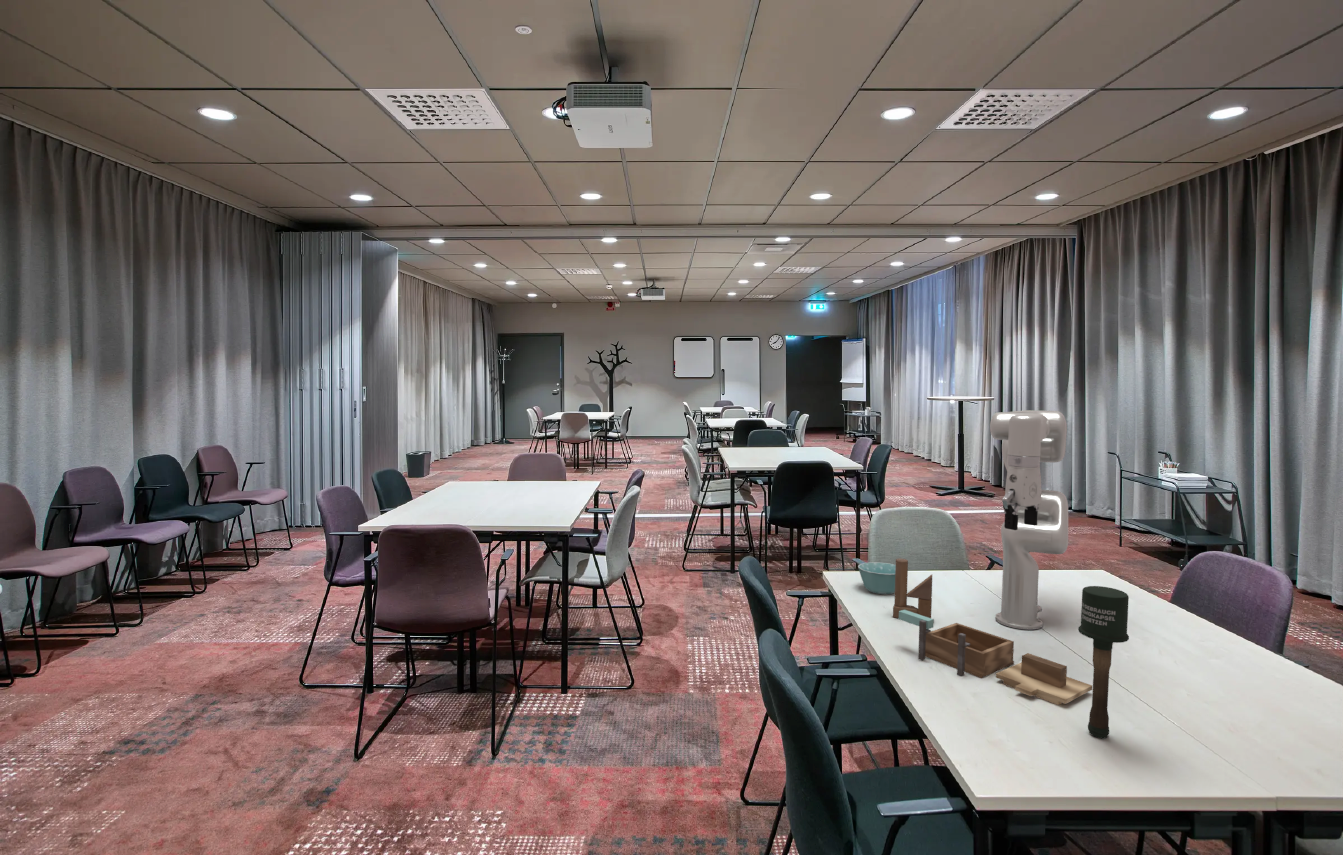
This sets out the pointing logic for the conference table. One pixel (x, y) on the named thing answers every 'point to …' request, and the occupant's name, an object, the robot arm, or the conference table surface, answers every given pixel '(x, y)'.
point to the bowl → (878, 577)
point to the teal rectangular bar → (915, 618)
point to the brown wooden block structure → (911, 592)
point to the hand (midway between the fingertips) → (1020, 526)
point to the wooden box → (965, 649)
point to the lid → (1043, 680)
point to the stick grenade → (1102, 645)
